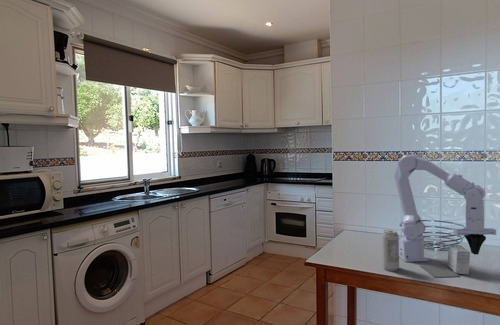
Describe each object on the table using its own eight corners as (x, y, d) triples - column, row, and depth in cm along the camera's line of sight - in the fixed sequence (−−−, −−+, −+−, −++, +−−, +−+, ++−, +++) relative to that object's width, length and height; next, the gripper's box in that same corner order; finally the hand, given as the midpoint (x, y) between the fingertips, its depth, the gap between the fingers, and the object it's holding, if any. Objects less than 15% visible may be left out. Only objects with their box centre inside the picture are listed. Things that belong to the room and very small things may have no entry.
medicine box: (468, 275, 118) (470, 252, 118) (455, 273, 119) (457, 250, 119) (459, 266, 126) (461, 245, 125) (447, 265, 127) (448, 244, 126)
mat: (434, 277, 118) (434, 276, 118) (419, 266, 129) (419, 265, 128) (459, 276, 117) (459, 276, 117) (442, 265, 128) (442, 264, 128)
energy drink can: (394, 265, 130) (394, 228, 130) (402, 271, 124) (401, 232, 124) (379, 266, 130) (379, 229, 129) (386, 272, 124) (386, 233, 123)
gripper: (461, 221, 118) (462, 257, 118) (502, 220, 117) (502, 256, 118) (450, 217, 125) (450, 251, 125) (488, 215, 124) (488, 250, 125)
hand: (474, 253), depth 122 cm, fingers closed
